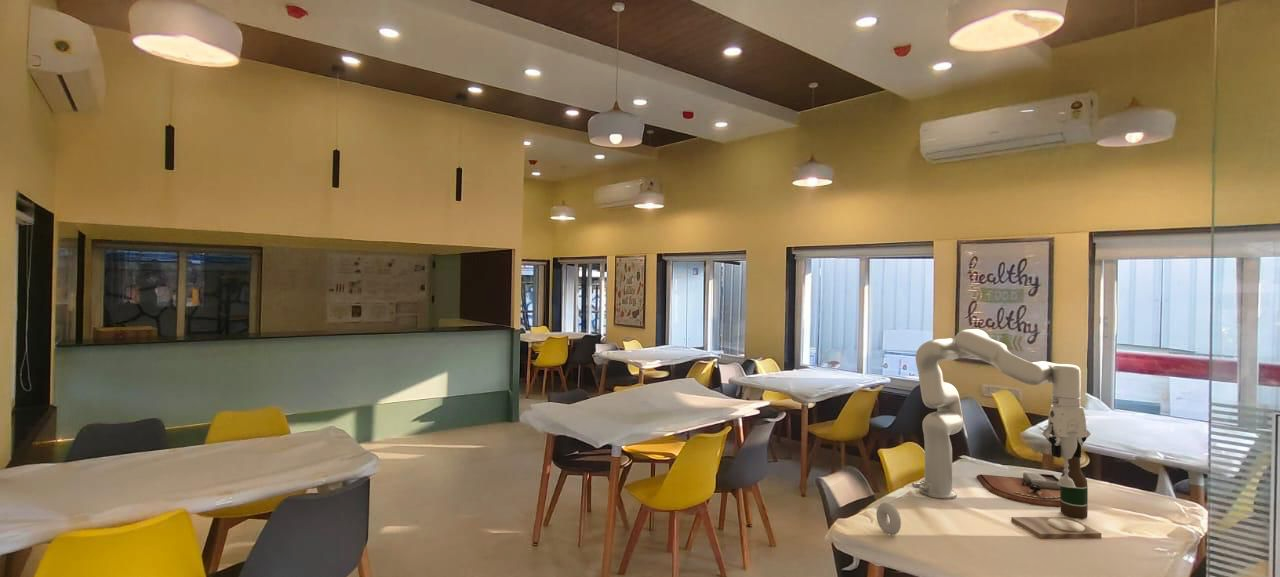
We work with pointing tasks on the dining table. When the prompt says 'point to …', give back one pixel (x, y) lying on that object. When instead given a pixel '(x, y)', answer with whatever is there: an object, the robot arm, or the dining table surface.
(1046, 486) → the wooden control board
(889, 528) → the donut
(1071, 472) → the beer bottle
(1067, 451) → the chalice
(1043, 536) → the walnut board
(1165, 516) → the dining table surface
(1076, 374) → the robot arm
